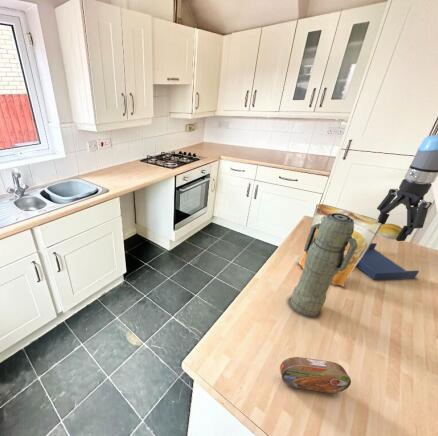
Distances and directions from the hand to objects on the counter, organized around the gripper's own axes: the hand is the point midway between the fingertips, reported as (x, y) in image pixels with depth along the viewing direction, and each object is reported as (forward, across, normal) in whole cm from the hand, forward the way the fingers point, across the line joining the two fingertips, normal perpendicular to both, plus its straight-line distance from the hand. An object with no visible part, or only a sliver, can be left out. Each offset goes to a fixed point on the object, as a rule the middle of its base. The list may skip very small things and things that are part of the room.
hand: (388, 233), depth 98 cm
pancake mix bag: (+14, +7, -28) cm, 32 cm away
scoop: (+13, +2, -7) cm, 15 cm away
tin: (+14, +47, -58) cm, 76 cm away
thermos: (+14, +23, -45) cm, 52 cm away
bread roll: (0, 0, 0) cm, 0 cm away
